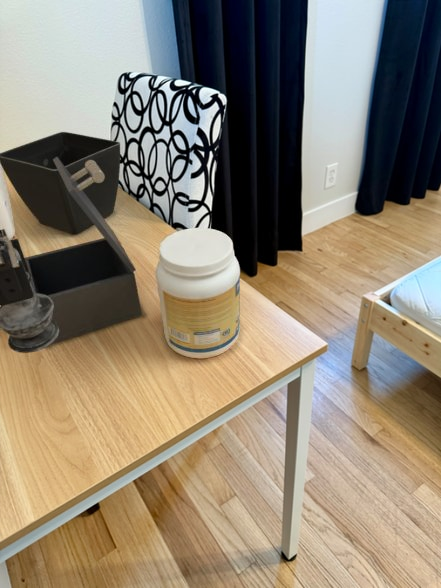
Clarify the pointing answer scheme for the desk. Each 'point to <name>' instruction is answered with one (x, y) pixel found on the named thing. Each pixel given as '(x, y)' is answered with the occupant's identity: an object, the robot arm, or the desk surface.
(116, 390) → the desk surface
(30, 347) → the chess piece
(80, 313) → the chest
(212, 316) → the supplement tub
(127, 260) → the lid
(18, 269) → the robot arm
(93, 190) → the flower pot
